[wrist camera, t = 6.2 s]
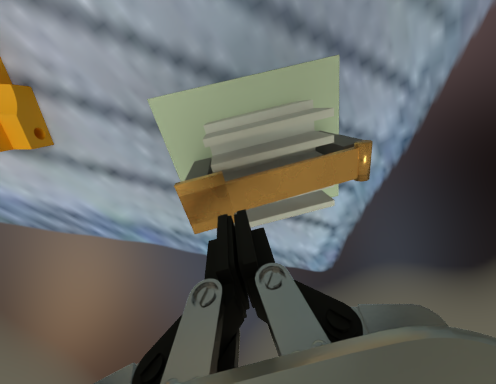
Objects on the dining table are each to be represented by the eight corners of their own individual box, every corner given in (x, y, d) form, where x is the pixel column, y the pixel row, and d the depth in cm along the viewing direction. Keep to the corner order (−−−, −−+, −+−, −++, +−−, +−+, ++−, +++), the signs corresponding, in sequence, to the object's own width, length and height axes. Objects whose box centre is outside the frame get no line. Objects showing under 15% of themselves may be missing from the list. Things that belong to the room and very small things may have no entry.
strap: (364, 131, 17) (377, 133, 16) (361, 180, 19) (372, 185, 18) (176, 181, 16) (173, 187, 14) (195, 227, 18) (194, 236, 16)
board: (333, 57, 23) (408, 22, 14) (334, 192, 32) (381, 227, 23) (150, 99, 23) (101, 93, 13) (201, 227, 31) (193, 277, 22)
